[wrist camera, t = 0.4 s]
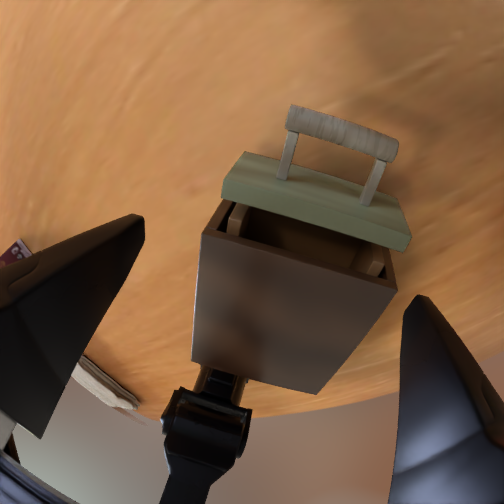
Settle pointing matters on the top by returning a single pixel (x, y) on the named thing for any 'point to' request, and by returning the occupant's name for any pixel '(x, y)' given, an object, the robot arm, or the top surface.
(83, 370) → the washcloth
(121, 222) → the robot arm
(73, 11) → the top surface
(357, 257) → the drawer
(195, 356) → the cabinet
